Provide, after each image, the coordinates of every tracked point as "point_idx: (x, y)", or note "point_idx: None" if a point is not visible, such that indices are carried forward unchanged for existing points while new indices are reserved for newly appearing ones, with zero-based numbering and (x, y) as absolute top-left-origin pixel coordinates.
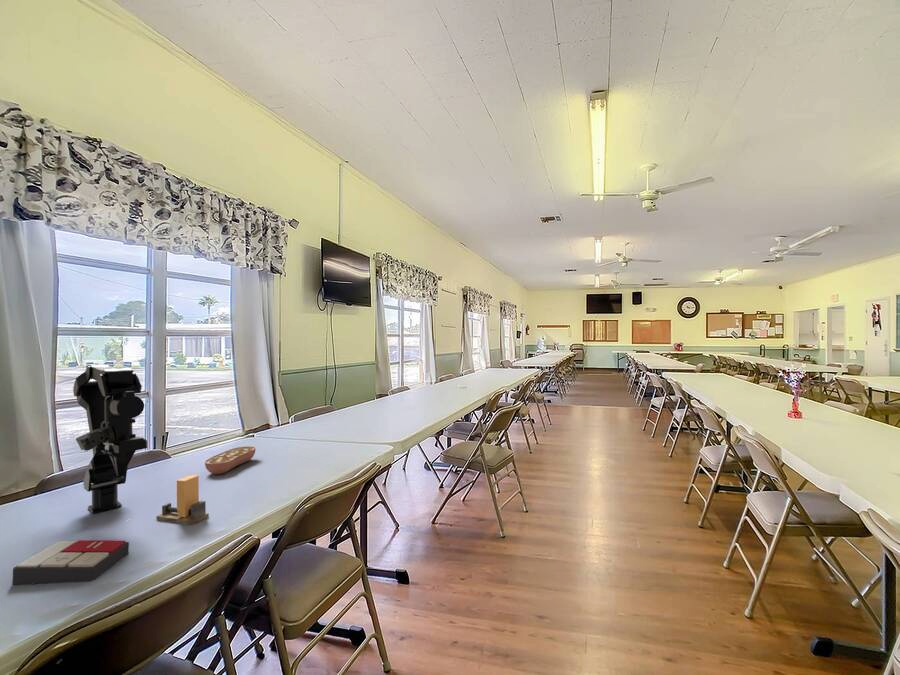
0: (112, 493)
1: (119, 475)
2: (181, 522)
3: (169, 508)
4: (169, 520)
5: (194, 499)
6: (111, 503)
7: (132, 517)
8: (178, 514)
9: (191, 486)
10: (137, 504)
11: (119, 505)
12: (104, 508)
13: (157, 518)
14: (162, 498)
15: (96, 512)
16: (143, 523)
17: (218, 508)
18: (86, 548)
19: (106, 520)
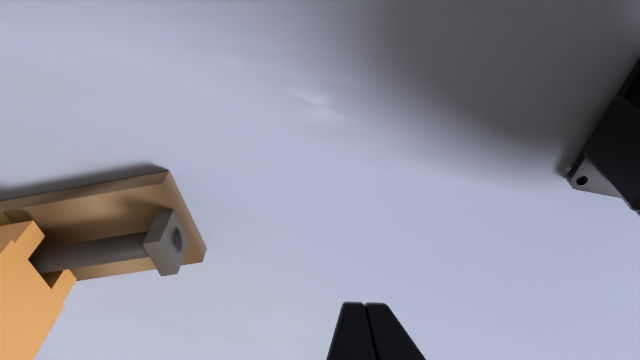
0: (634, 200)
1: (344, 311)
2: (8, 202)
3: (132, 245)
4: (80, 189)
5: None
6: (600, 153)
7: (333, 132)
8: (23, 228)
9: None
10: (505, 228)
11: (573, 176)
12: (610, 108)
13: (160, 176)
14: (453, 306)
15: (635, 65)
16: (178, 117)
17: (85, 334)
18: None
19: (441, 37)
